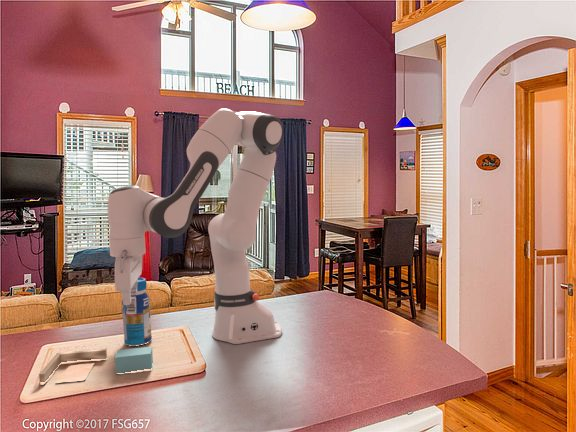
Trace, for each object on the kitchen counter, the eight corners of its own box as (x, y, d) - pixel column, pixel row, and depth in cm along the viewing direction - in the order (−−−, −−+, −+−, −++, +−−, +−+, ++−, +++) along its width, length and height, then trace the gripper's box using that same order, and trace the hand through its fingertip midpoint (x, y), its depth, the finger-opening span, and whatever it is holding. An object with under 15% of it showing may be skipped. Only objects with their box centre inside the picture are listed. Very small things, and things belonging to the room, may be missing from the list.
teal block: (153, 363, 122) (152, 346, 122) (151, 371, 117) (150, 353, 117) (118, 367, 120) (117, 350, 120) (115, 375, 115) (114, 357, 115)
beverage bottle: (119, 343, 138) (115, 280, 136) (143, 335, 144) (140, 275, 142) (132, 350, 132) (128, 284, 130) (157, 341, 138) (154, 279, 136)
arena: (107, 358, 126) (106, 348, 126) (95, 380, 113) (94, 368, 112) (57, 363, 124) (57, 353, 123) (39, 385, 110) (39, 374, 110)
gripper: (133, 253, 106) (137, 309, 107) (145, 241, 126) (147, 289, 127) (106, 255, 105) (109, 311, 106) (122, 242, 125) (124, 290, 126)
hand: (130, 299), depth 117 cm, fingers open, 8 cm apart
